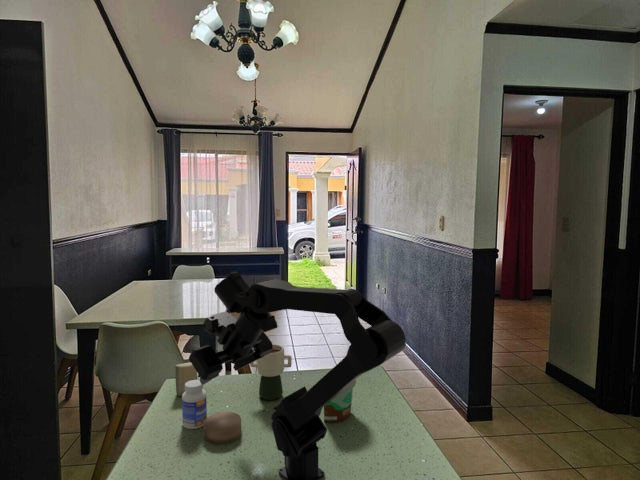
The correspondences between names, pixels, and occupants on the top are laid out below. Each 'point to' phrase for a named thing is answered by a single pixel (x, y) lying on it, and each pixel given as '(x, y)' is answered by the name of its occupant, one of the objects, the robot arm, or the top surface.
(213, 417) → the brown round smooth part
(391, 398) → the top surface
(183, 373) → the beige rounded block
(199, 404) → the pill bottle
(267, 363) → the character mug
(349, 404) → the food container
